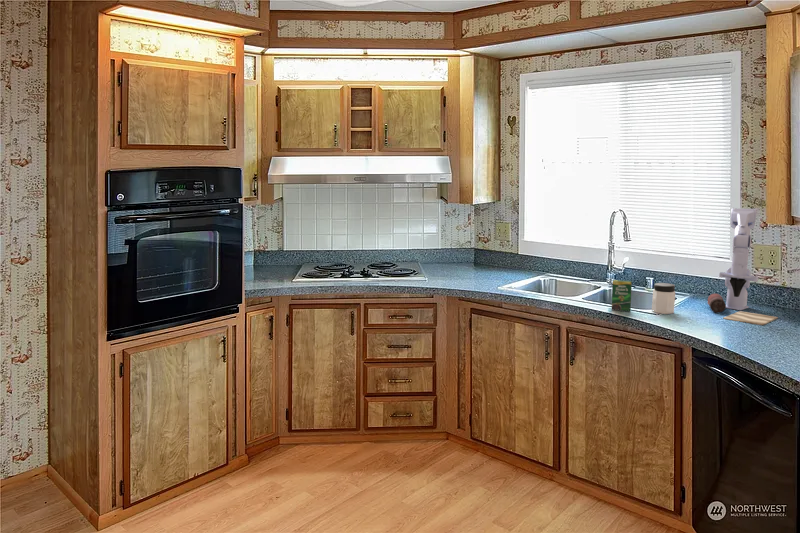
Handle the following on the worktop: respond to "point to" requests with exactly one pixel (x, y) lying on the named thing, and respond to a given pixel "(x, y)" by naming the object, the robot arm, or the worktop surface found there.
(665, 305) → the jar
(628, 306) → the green cardboard box
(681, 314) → the worktop surface
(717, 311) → the can
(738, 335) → the worktop surface
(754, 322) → the wooden cutting board
